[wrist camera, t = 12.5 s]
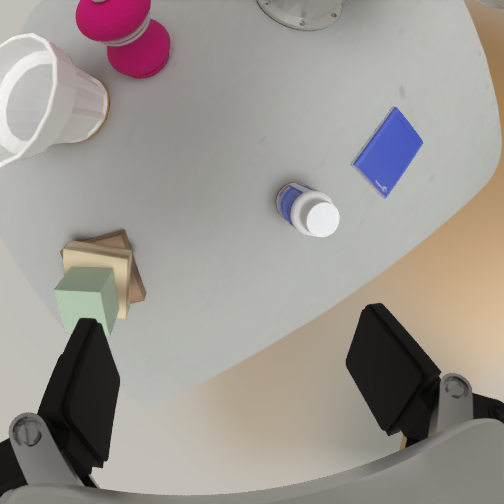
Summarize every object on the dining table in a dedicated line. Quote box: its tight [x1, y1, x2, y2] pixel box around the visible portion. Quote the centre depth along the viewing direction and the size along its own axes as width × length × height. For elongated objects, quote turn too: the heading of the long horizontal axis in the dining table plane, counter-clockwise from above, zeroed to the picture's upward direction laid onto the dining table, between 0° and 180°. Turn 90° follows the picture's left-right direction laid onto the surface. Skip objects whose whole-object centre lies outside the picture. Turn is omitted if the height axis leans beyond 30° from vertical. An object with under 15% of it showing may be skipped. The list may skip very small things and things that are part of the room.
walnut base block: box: [60, 230, 146, 303], centre depth 37 cm, size 10×10×3 cm
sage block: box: [54, 267, 119, 337], centre depth 30 cm, size 6×6×6 cm
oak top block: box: [63, 240, 132, 320], centre depth 34 cm, size 9×9×3 cm
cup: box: [0, 33, 109, 167], centre depth 20 cm, size 11×11×17 cm
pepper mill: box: [76, 0, 170, 78], centre depth 18 cm, size 7×7×20 cm
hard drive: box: [351, 107, 423, 199], centre depth 38 cm, size 2×8×12 cm
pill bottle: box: [276, 183, 339, 237], centre depth 34 cm, size 5×5×10 cm
